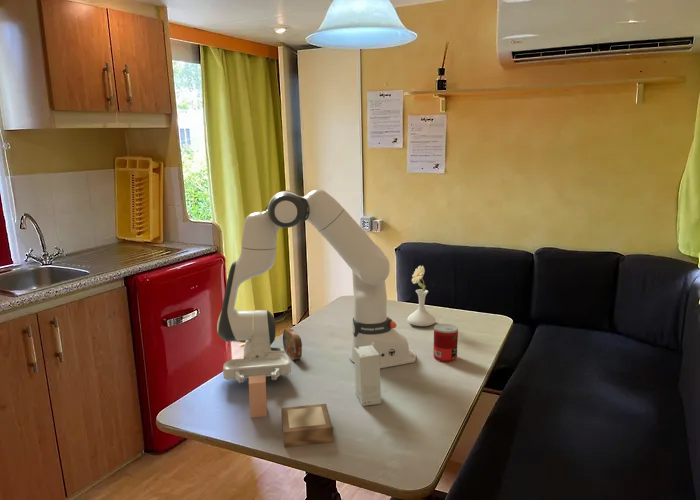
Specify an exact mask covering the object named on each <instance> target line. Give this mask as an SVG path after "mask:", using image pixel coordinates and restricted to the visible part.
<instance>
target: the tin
mask: <svg viewBox="0 0 700 500" xmlns="http://www.w3.org/2000/svg"><path fill="white" fill-rule="evenodd" d="M302 343H303V342H302V338H301V337H300V335H299V334H298V332H296V331H295V330H294V329H292V328H285V329H284V330H283V333H282V344H283V349H284V350H285V354H287V355H288V357H289V359H290V360H292V361H294V360H300V359H301V358H302V355H303V354H302V353H303V344H302Z"/></svg>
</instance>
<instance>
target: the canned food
mask: <svg viewBox="0 0 700 500" xmlns="http://www.w3.org/2000/svg"><path fill="white" fill-rule="evenodd" d="M458 335H459V329H458V326H456V325H455V324H451V323H438V324H436V325H434V328H433V357H434V359H435V360H436V361H438V362H441V361H442V363H451V362H455V361H456V360H457V358H458V337H459V336H458Z"/></svg>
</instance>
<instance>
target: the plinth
mask: <svg viewBox="0 0 700 500" xmlns="http://www.w3.org/2000/svg"><path fill="white" fill-rule="evenodd" d="M280 409H281V410H280V411H281V425H282V437H283V447H284V448H288V447H289V448H290V447H295V446H296V447H298V446H305V445H315V444H325V443H332V442H333V441H334V435H333V434H334V433H333V431H334V430H333V424H332V421H331V417H330V414H329V410H328V405H327V403H321V404H320V403H319V404H317V403H316V404H310V405H309V404H308V405H307V404H306V405H299V406H289V407H280Z"/></svg>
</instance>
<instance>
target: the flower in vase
mask: <svg viewBox="0 0 700 500" xmlns="http://www.w3.org/2000/svg"><path fill="white" fill-rule="evenodd" d="M414 270H415V271H413V274H412V275H411V276H412V278H411V282H412V284H414V285H416V284H418V286H419V287H420V288H421V289H420V288H419V289H416V290H415V293H416V294H417V297H418V298H417V299H418V307H417V309H416V310H415V311H413V312H412V313H410V314H409V315H408V317H407V322H408V323H409V324H411V325H413V326H415V327H428V326H432V325H434V324H435V323H436V318H435V317H434V315H433V314H431V313H430V312H429V311H428V310H427V309H426V306H425V303H426V302H425V301H426V296H427V294H428V293H429V290H427V289H426V285H425V281H424V279H423V277H424V275H425V272H426V270H425V267H424V265H419V266H417V268H415V269H414ZM421 281H422V282H423V283H422V282H421Z"/></svg>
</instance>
